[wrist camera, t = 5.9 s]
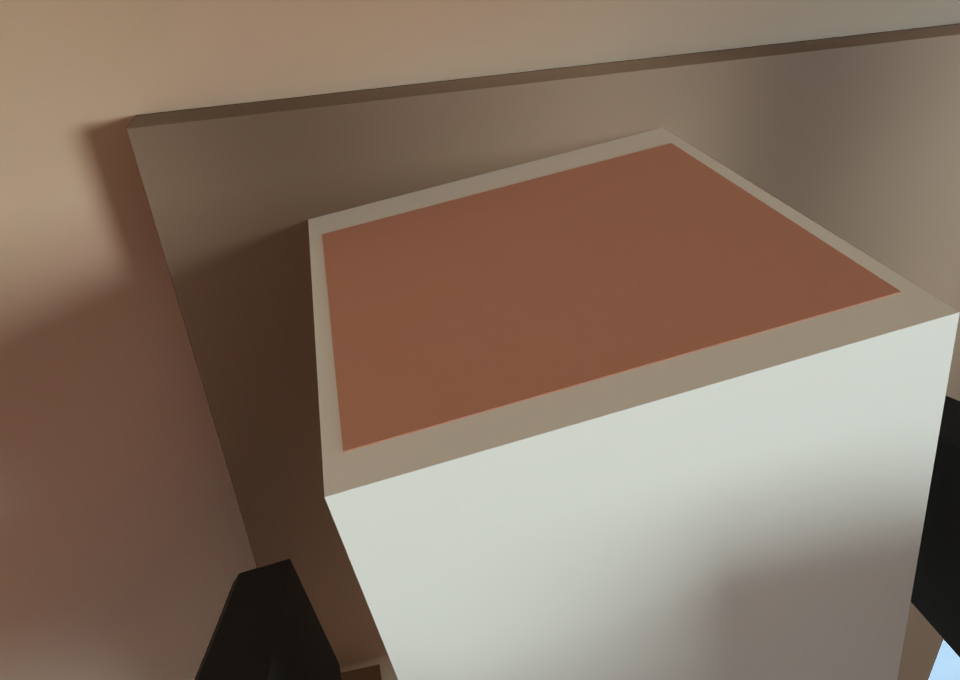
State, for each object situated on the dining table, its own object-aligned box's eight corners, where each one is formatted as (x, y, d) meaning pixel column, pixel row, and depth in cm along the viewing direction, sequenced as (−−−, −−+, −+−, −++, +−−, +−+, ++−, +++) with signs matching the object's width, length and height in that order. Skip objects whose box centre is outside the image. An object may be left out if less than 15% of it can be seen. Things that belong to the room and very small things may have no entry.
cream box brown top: (661, 126, 10) (959, 311, 5) (689, 563, 14) (866, 858, 10) (307, 218, 9) (322, 495, 5) (447, 638, 13) (520, 982, 9)
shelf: (1138, 4, 11) (1539, 55, 7) (889, 716, 19) (1022, 896, 16) (136, 114, 9) (35, 258, 5) (350, 856, 17) (365, 1099, 14)
